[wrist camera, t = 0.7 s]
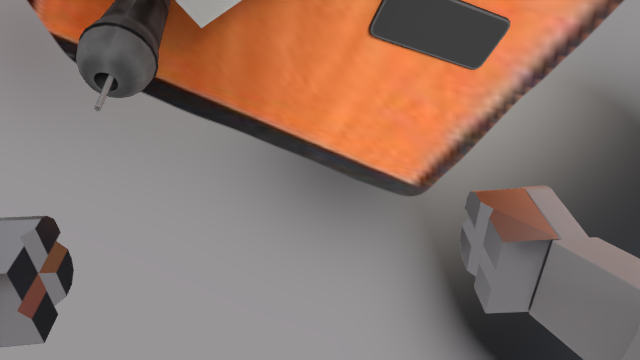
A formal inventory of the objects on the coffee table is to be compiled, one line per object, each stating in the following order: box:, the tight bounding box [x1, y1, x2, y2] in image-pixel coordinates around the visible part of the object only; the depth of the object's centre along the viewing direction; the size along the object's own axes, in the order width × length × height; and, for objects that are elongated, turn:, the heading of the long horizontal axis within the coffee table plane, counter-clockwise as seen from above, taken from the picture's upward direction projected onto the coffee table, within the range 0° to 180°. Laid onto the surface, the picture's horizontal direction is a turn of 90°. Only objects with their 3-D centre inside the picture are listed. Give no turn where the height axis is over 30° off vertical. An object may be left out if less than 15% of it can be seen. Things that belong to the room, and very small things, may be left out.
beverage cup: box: [76, 0, 170, 111], centre depth 48 cm, size 7×7×20 cm
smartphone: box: [370, 0, 510, 69], centre depth 57 cm, size 7×1×15 cm
